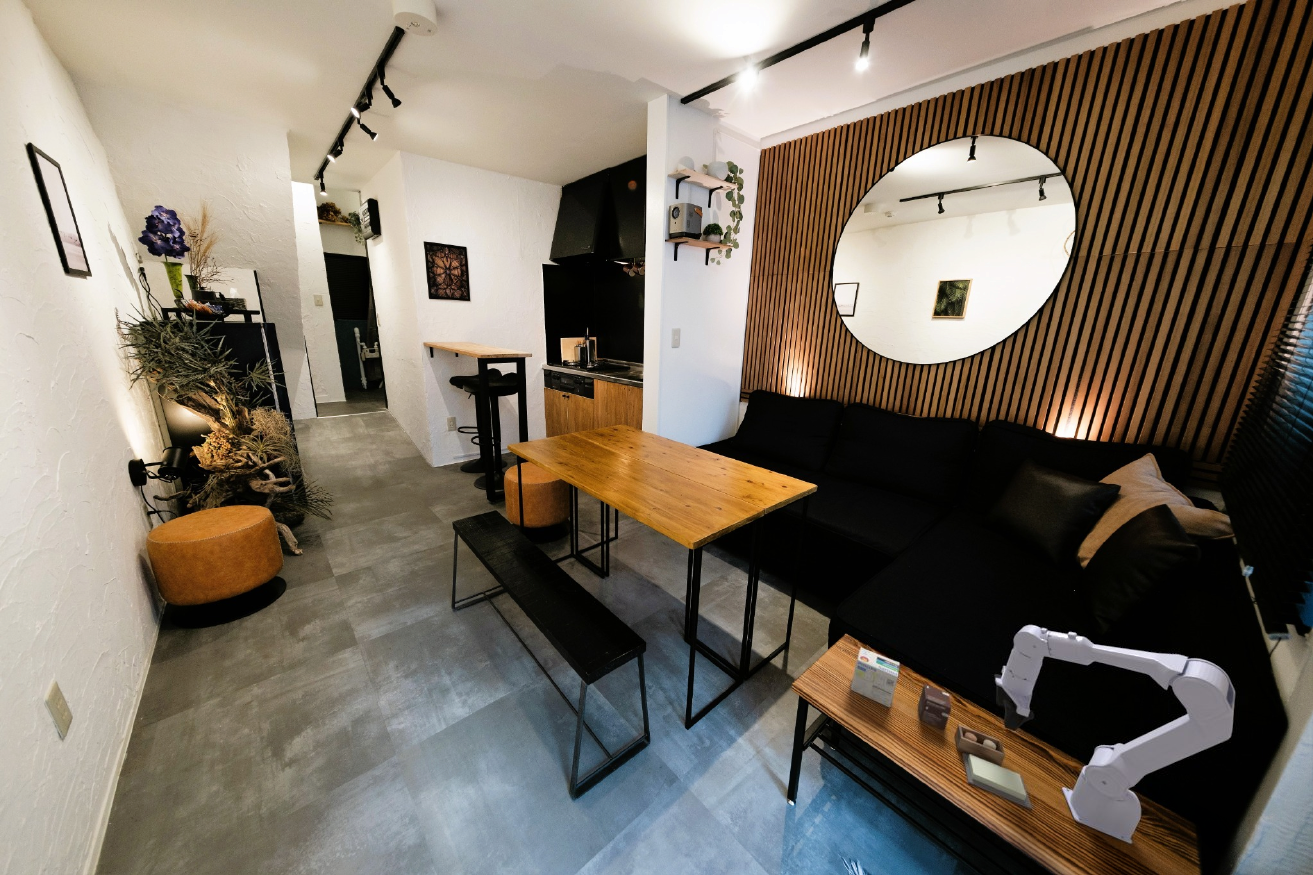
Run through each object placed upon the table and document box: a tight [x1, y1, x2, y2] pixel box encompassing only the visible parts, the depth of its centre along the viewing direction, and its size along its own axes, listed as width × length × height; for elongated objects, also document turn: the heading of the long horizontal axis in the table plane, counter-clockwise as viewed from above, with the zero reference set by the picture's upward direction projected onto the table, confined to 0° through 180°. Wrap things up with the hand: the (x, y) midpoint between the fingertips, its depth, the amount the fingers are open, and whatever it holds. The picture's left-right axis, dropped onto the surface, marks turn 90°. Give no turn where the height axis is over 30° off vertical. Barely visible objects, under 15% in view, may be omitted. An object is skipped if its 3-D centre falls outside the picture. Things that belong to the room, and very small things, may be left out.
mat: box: [961, 753, 1033, 811], centre depth 104 cm, size 12×8×1 cm, turn 64°
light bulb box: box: [850, 647, 900, 708], centre depth 125 cm, size 11×7×11 cm, turn 58°
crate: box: [954, 724, 1006, 767], centre depth 110 cm, size 9×4×4 cm, turn 64°
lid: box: [968, 754, 1026, 800], centre depth 103 cm, size 10×6×2 cm, turn 64°
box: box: [917, 683, 952, 731], centre depth 119 cm, size 6×6×7 cm
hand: (1005, 716), depth 110 cm, fingers open, 7 cm apart
